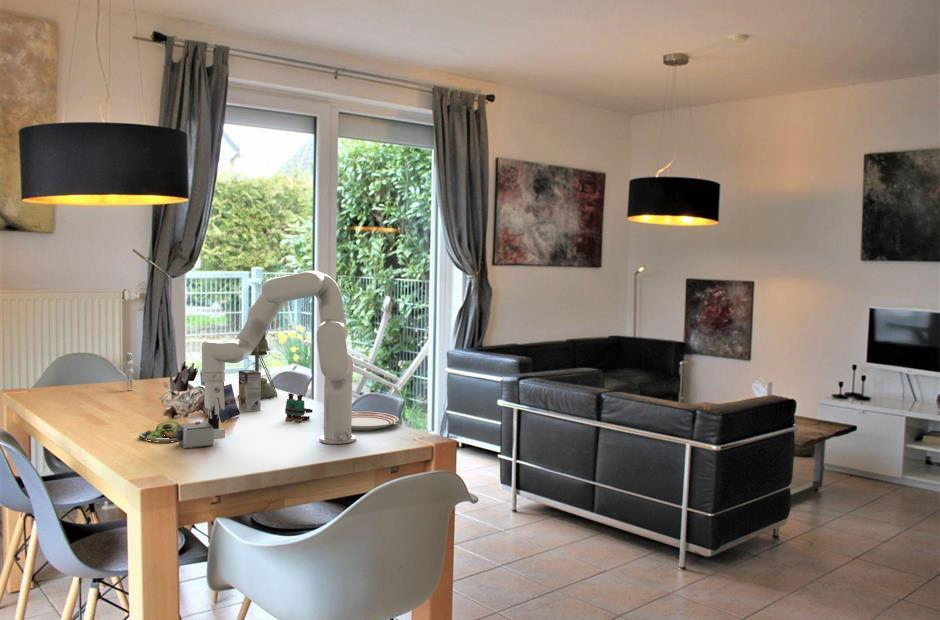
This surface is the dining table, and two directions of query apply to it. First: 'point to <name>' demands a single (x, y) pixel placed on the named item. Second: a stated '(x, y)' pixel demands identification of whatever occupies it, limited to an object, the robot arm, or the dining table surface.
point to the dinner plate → (372, 420)
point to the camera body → (191, 427)
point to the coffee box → (249, 390)
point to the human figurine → (129, 368)
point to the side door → (202, 436)
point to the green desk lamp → (266, 388)
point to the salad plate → (162, 432)
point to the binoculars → (296, 409)
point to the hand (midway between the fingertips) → (213, 429)
